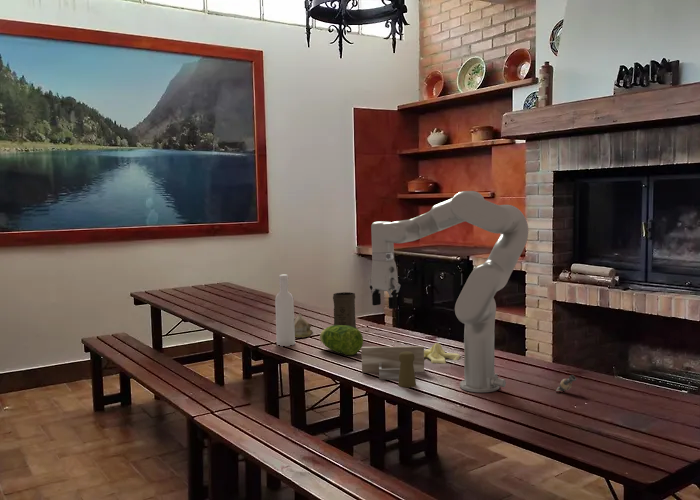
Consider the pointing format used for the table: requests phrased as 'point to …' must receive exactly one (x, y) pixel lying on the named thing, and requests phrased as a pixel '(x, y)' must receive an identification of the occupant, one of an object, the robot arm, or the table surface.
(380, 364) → the wall board holder
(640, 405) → the table surface
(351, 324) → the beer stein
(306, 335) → the ceramic model
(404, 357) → the olive rounded piece
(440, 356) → the cloth
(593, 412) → the table surface
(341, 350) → the lettuce
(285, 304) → the bottle
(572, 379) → the vase
